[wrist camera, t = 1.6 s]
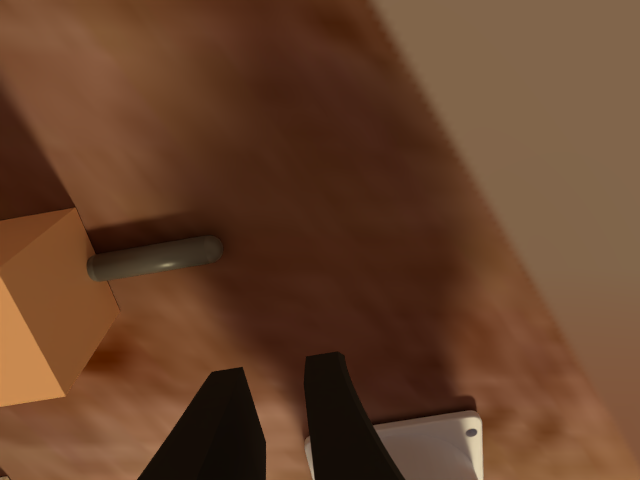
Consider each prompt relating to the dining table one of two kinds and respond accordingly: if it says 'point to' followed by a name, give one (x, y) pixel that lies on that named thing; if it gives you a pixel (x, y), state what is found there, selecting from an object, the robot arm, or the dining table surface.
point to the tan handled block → (66, 297)
